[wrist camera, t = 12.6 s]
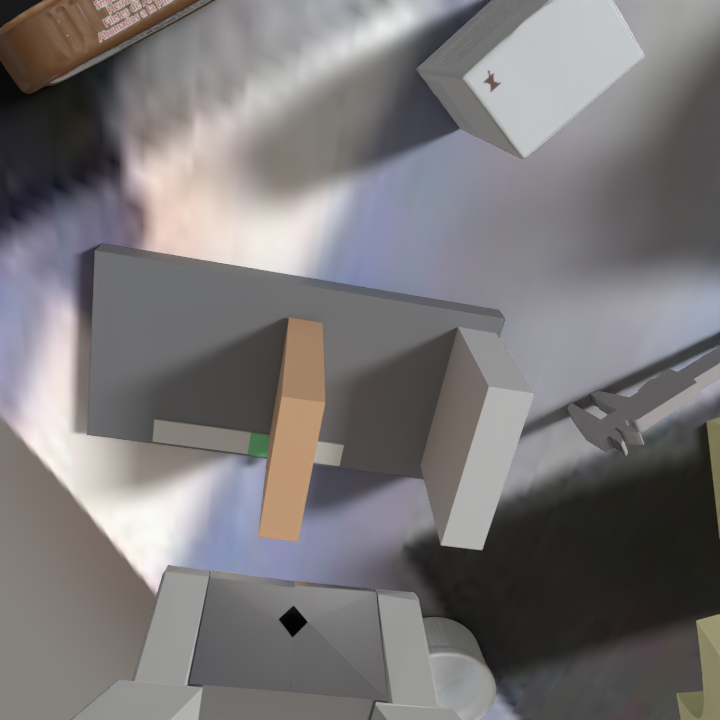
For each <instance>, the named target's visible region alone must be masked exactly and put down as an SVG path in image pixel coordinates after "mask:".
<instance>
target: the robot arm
mask: <svg viewBox="0 0 720 720" xmlns="http://www.w3.org/2000/svg"><path fill="white" fill-rule="evenodd" d="M210 575H211V576H210ZM71 720H461V719H460V717H459V716H458V715H457V714H456V713H455V712H454V710H453V709H446V708H440V707H439V702H438V697H437V692H436V687H435V681H434V676H433V671H432V666H431V661H430V655H429V650H428V645H427V640H426V635H425V630H424V624H423V619H422V614H421V609H420V604H419V598H418V597H417V596H416V594H415V593H414V592H406V591H396V590H385V589H374V590H372V589H368V588H358V587H348V586H338V585H328V584H319V583H309V582H299V581H289V580H281V579H274V578H266V577H259V576H252V575H244V574H237V573H229V572H222V571H214V570H212V572H211V571H207V570H200V569H192V568H185V567H178V566H171V565H168V566H167V568H166V570H165V571H164V573H163V575H162V579H161V582H160V585H159V589H158V592H157V596H156V599H155V602H154V606H153V609H152V613H151V616H150V620H149V623H148V627H147V630H146V633H145V637H144V640H143V643H142V647H141V650H140V654H139V657H138V660H137V664H136V667H135V671H134V674H133V678H132V681H127V680H117V681H116V682H114V683H113V684H112V685H111V686H109V687H108V688H107V689H106V690H105V691H104V692H102V693H101V694H100V695H99V696H98V697H97V698H95V699H94V700H93V701H92V702H91V703H90V704H88V705H87V706H86V707H85V708H84V709H83V710H81V711H80V712H79V713H78V714H77V715H75V716H74V717H73V718H72V719H71Z"/></svg>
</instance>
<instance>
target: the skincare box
mask: <svg viewBox="0 0 720 720" xmlns="http://www.w3.org/2000/svg"><path fill="white" fill-rule="evenodd" d="M644 57H645V55H644V53H643V51H642V50H641V48H640V46H639V44H638V43H637V41H636V39H635V37H634V35H633V34H632V32H631V30H630V28H629V27H628V25H627V23H626V21H625V20H624V18H623V16H622V14H621V13H620V11H619V9H618V8H617V6H616V4H615V2H614V0H491V1H490V2H489V3H488V4H487V5H486V6H485V7H483V8H482V9H481V10H480V11H479V12H478V13H477V14H476V15H475V16H474V17H472V18H471V19H470V20H469V21H468V22H467V23H466V24H465V25H464V26H462V27H461V28H460V29H459V30H458V31H457V32H456V33H455V34H454V35H452V36H451V37H450V38H449V39H448V40H447V41H446V42H445V43H444V44H443V45H442V46H440V47H439V48H438V49H437V50H436V51H435V52H434V53H433V54H432V55H431V56H429V57H428V58H427V59H426V60H425V61H424V62H423V63H422V64H421V65H419V66H418V67H417V69H416V70H417V72H418V73H419V74H420V76H421V77H422V78H423V80H424V81H425V82H426V84H427V85H428V86H429V88H430V89H431V91H432V92H433V93H434V95H435V96H436V97H437V99H438V100H439V101H440V103H441V104H442V105H443V106H444V108H445V109H446V110H447V112H448V113H449V114H450V116H451V117H452V118H453V120H454V121H455V122H456V124H457V125H458V126H459V128H460V129H462V130H464V131H466V132H468V133H470V134H472V135H474V136H476V137H478V138H480V139H482V140H484V141H486V142H488V143H490V144H492V145H494V146H496V147H498V148H500V149H502V150H504V151H506V152H509V153H511V154H512V155H514V156H516V157H518V158H521V159H525V158H526V157H527V156H529V155H530V154H531V153H532V152H533V151H535V150H536V149H537V148H538V147H539V146H541V145H542V144H543V143H544V142H545V141H547V140H548V139H549V138H550V137H552V136H553V135H554V134H555V133H556V132H558V131H559V130H560V129H561V128H562V127H564V126H565V125H566V124H567V123H568V122H569V121H571V120H572V119H573V118H574V117H575V116H576V115H577V114H579V113H580V112H581V111H582V110H583V109H584V108H586V107H587V106H588V105H589V104H590V103H591V102H592V101H594V100H595V99H596V98H597V97H598V96H599V95H600V94H602V93H603V92H604V91H605V90H606V89H608V88H609V87H610V86H611V85H612V84H614V83H615V82H616V81H617V80H618V79H619V78H621V77H622V76H623V75H624V74H625V73H626V72H628V71H629V70H630V69H631V68H632V67H634V66H635V65H636V64H637V63H638V62H640V61H641V60H642V59H643V58H644Z"/></svg>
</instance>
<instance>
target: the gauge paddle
mask: <svg viewBox="0 0 720 720" xmlns="http://www.w3.org/2000/svg"><path fill="white" fill-rule="evenodd" d="M324 407H325V378H324V347H323V323H321V322H315V321H308V320H302V319H296V318H290V317H289V320H288V326H287V333H286V339H285V345H284V351H283V357H282V363H281V369H280V375H279V381H278V387H277V394H276V400H275V406H274V412H273V418H272V424H271V430H270V437H269V446H268V455H267V464H266V472H265V481H264V490H263V499H262V508H261V516H260V525H259V534H258V537H263V538H272V539H281V540H289V541H298V538H299V533H300V528H301V523H302V518H303V513H304V508H305V503H306V498H307V493H308V488H309V483H310V478H311V473H312V468H313V463H314V458H315V452H316V447H317V442H318V437H319V432H320V427H321V422H322V417H323V412H324Z"/></svg>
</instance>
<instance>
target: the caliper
mask: <svg viewBox="0 0 720 720" xmlns="http://www.w3.org/2000/svg"><path fill="white" fill-rule="evenodd" d="M719 378H720V346H719V347H718V348H716V349H714V350H713V351H711V352H709V353H708V354H706V355H705V356H703V357H701V358H700V359H698V360H696V361H695V362H693V363H691V364H690V365H688V366H687V367H685V368H683V369H682V370H680V371H678V372H676V371H673V370H671V369H667V370H665V371H664V372H662V373H661V374H660V375H659V376H658V377H656V378H654V379H651V380H649V381H647V382H646V383H645V384H644V385H643V386H642V387H641V388H640V389H639V390H638V391H639V392H638V393H636V394H634V395H633V396H631V397H625V396H620V395H615V394H611V393H606V392H602V391H594V392H592V393H590V396H591V398H592V401H593V403H594V405H595V406H597V407H599V409H600V410H601V411H603V412H605V413H606V414H608V415H607V416H606V417H604V418H603V419H602V420H600V419H598V418H597V417H595V416H593V415H591V414H590V413H588V412H586V411H585V410H583V409H581V408H579V407H578V406H576V405H575V404H573V403H571V404H569V405H568V407H567V409H568V411H569V414H570V416H571V418H572V420H573V422H574V423H575V425H576V426H577V428H578V429H579V430H580V432H581V433H582V435H583V436H584V437H585V439H586V440H587V441H589V442H590V443H592V444H593V445H595V446H597V447H598V448H600V449H601V450H603V451H605V452H606V453H607V452H608V451H610V450H612V449H614V448H616V449H617V450H619V451H620V452H622V453H623V454H625V455H627V454H628V451H627V448H626V446H625V443H624V441H625V442H627V443H629V444H636V445H644V442H643V439H642V437H641V434H640V432H643V431H645V430H646V429H648V428H649V427H651V426H653V425H654V424H656V423H657V422H659V421H661V420H662V419H664V418H665V417H667V416H669V415H670V414H672V413H673V412H675V411H676V410H678V409H680V408H681V407H683V406H684V405H686V404H688V403H689V402H691V401H692V400H694V399H696V398H697V397H699V396H700V395H701V393H700V390H701V389H703V388H705V387H706V386H708V385H709V384H711V383H713V382H714V381H716V380H718V379H719Z"/></svg>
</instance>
